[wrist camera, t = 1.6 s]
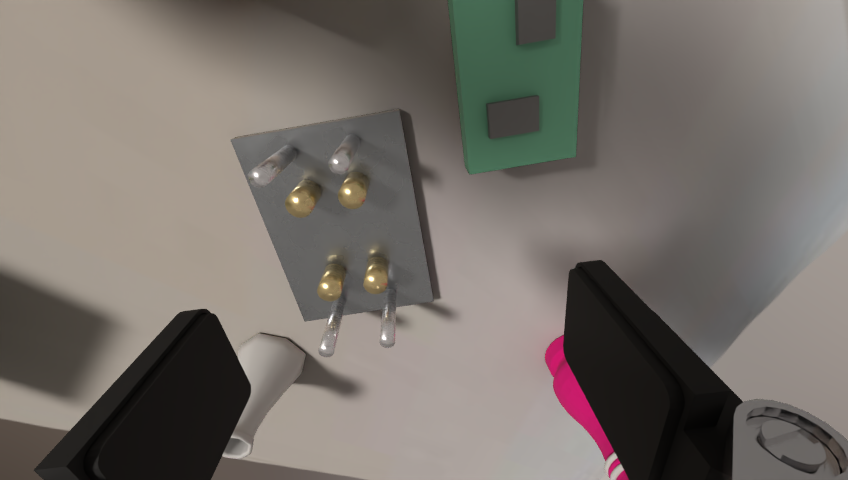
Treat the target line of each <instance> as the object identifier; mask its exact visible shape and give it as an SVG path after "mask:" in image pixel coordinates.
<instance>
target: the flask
mask: <svg viewBox="0 0 848 480" xmlns="http://www.w3.org/2000/svg"><path fill="white" fill-rule="evenodd" d="M305 357H306V354H305V353H304V352H303V351H301V350H300V349H299V348H298V347H296V346H295V345H294V344H293V343H291V342H290V341H289V340H288V339H286V338H281V337H276V336H271V335H265V334H260V333H258V334H256V335H255V336H253V337H252V338H250V339H249V340H247V341H246V342H244V343H243V344H241V345H240V346H239V352H238V360H239V362H240V364H241V366H242V368H243V370H244V372H245V374H246V376H247V378H248V380H249V382H250V384H251V395H250V398H249V400H248V402H247V404H246V407H245V409H244V411H243V413H242V415H241V417H240V419H239V421H238V423H237V425H236V427H235V430H234V432H233V434H232V436H231V438H230V440H229V442H228V444H227V446H226V448H225V451H224V453H223V455H222V456H224V457H226V458H234V459H242V458H244V457H246V456H247V455H249V454H251V452H252V448H253V441H254V439H253V438H254V435H255V433H256V431H257V429H258V427H259V426H260V424H261V422H262V421H263V419H264V417H265V416H266V414H267V413H268V411H269V410H270V409H271V408H272V407H273V405H274V404H275V403H276V402H277V401H278V399H279V398H280V397H281V396H282V395H283V393H284V392H285V391H286V390H287V389H288V388H289V387H290V386H291V385H292V384H293V382H294V381H295V380H296V379H297V378H298V377H299V376H300V374H301V373H302V370H303V366H304V361H305Z"/></svg>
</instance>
